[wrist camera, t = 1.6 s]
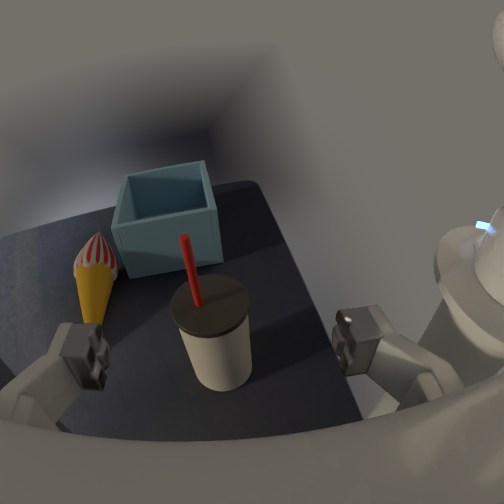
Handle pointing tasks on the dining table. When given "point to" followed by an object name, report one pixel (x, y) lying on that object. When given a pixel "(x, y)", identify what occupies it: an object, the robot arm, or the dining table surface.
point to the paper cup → (213, 325)
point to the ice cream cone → (95, 277)
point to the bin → (166, 219)
